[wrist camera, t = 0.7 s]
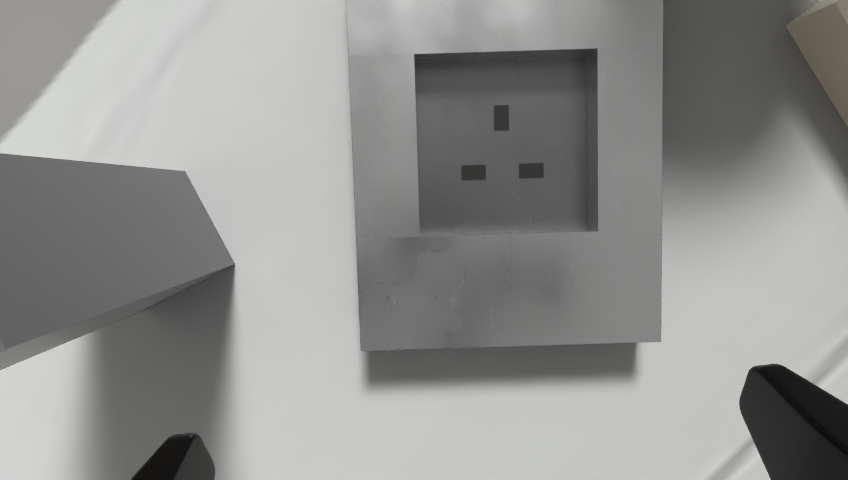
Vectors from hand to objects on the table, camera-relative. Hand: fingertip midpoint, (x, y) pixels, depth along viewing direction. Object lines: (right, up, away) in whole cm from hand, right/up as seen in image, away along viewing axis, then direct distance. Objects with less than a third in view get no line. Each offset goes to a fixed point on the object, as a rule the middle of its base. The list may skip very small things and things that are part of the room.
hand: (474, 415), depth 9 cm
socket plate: (+2, +7, +14) cm, 16 cm away
